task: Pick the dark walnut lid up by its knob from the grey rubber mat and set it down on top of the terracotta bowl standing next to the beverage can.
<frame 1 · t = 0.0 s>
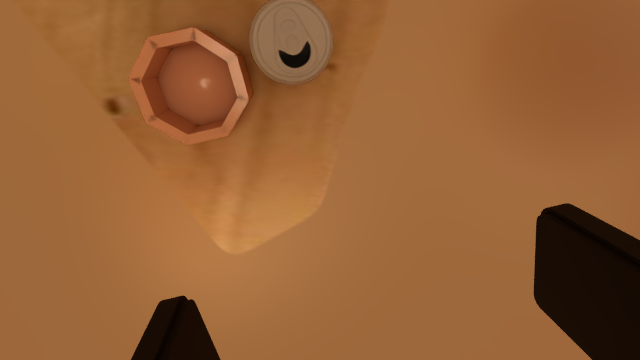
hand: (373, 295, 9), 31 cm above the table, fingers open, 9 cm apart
bowl: (202, 84, 36), on the table
beverage can: (289, 45, 36), on the table
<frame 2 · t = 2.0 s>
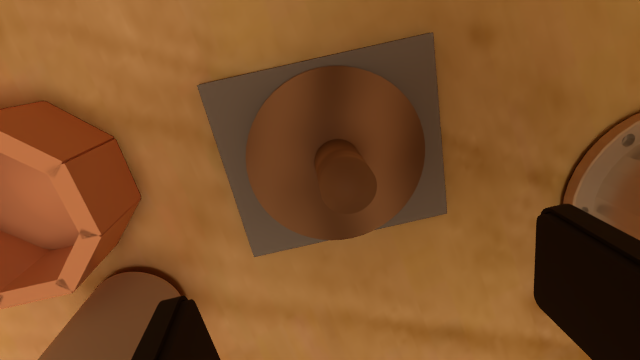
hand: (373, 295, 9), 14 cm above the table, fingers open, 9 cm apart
bowl: (52, 185, 21), on the table
beverage can: (144, 299, 25), on the table
mat: (333, 153, 22), on the table
lid: (334, 155, 22), point 1 cm above the table, touching mat
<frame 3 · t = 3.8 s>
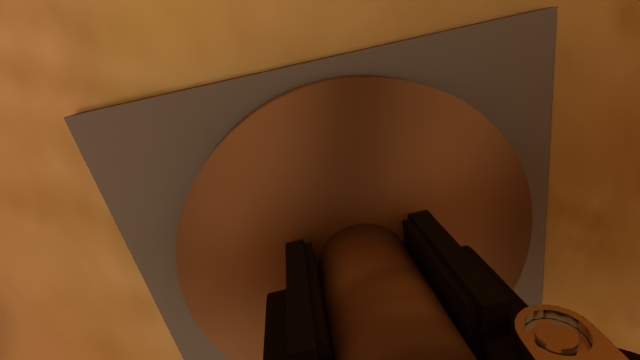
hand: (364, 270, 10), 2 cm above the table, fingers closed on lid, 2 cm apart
mat: (348, 234, 12), on the table
lid: (354, 243, 12), point 1 cm above the table, touching gripper, mat
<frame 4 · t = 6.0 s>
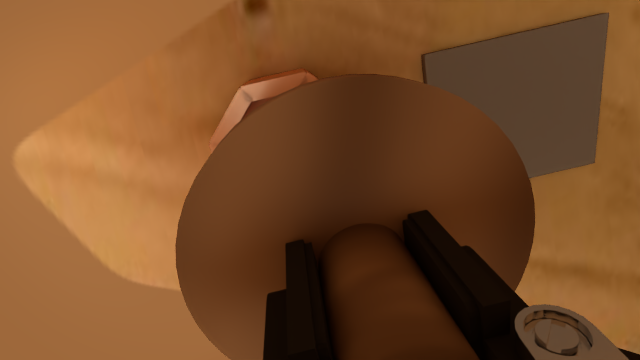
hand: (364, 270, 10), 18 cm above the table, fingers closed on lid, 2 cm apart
bowl: (292, 138, 27), on the table
mat: (511, 112, 28), on the table
lid: (355, 243, 11), point 17 cm above the table, touching gripper
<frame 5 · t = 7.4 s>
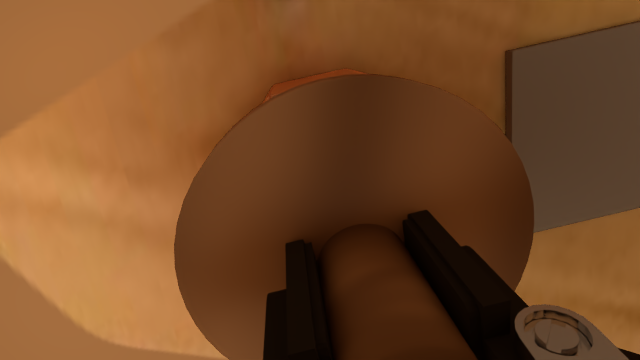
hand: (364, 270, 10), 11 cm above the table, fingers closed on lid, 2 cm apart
bowl: (328, 161, 20), on the table
mat: (613, 126, 21), on the table
lid: (354, 243, 11), point 9 cm above the table, touching gripper
when the fingers open (8 cm above the table, at t = 8.5 s): lid drops 2 cm, resting on bowl.
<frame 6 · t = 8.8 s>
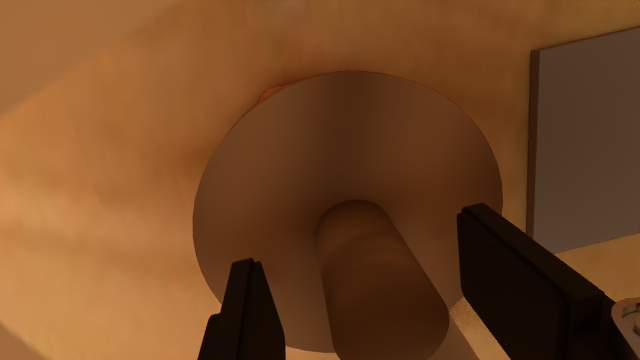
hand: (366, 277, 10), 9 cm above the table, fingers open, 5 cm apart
beverage can: (388, 309, 22), on the table
lid: (347, 219, 13), point 5 cm above the table, touching bowl
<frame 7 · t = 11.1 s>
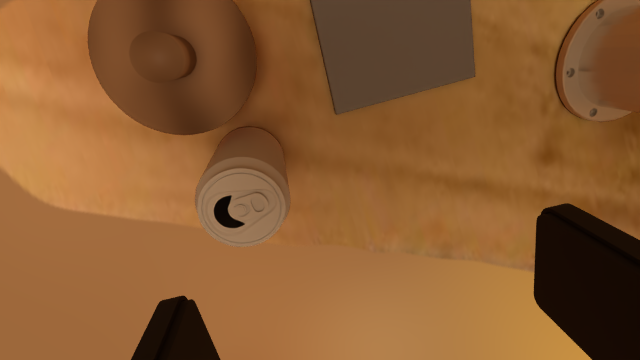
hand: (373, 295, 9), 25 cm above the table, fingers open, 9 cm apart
beverage can: (251, 156, 33), on the table
mat: (394, 29, 31), on the table
lid: (179, 56, 24), point 5 cm above the table, touching bowl
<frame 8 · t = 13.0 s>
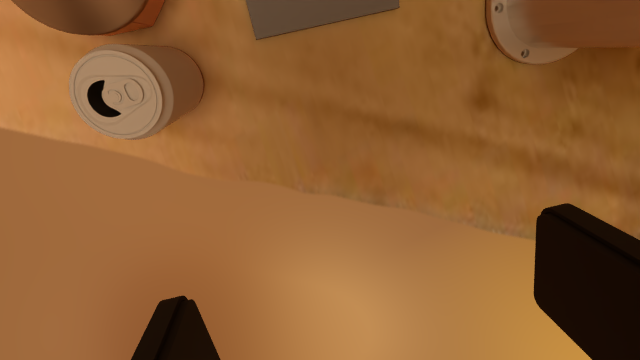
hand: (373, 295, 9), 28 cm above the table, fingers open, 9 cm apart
beverage can: (172, 81, 33), on the table
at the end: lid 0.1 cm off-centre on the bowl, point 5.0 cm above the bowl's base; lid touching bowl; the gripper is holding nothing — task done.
